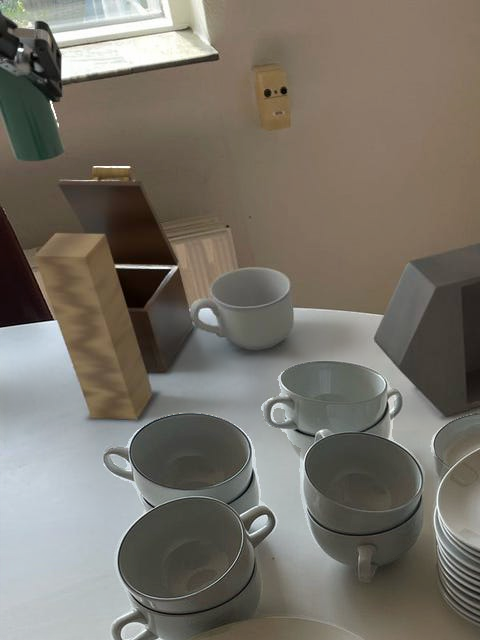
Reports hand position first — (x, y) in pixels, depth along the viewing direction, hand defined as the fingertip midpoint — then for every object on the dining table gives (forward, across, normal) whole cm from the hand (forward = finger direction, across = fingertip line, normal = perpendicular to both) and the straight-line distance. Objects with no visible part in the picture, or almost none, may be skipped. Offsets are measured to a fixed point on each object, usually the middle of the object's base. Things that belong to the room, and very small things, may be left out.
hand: (29, 93), depth 104 cm
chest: (+35, +2, +16) cm, 38 cm away
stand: (+24, 0, +27) cm, 36 cm away
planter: (+17, -35, +22) cm, 45 cm away
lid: (+26, +1, +3) cm, 27 cm away
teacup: (+36, -13, +15) cm, 41 cm away
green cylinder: (+2, 0, +5) cm, 6 cm away
